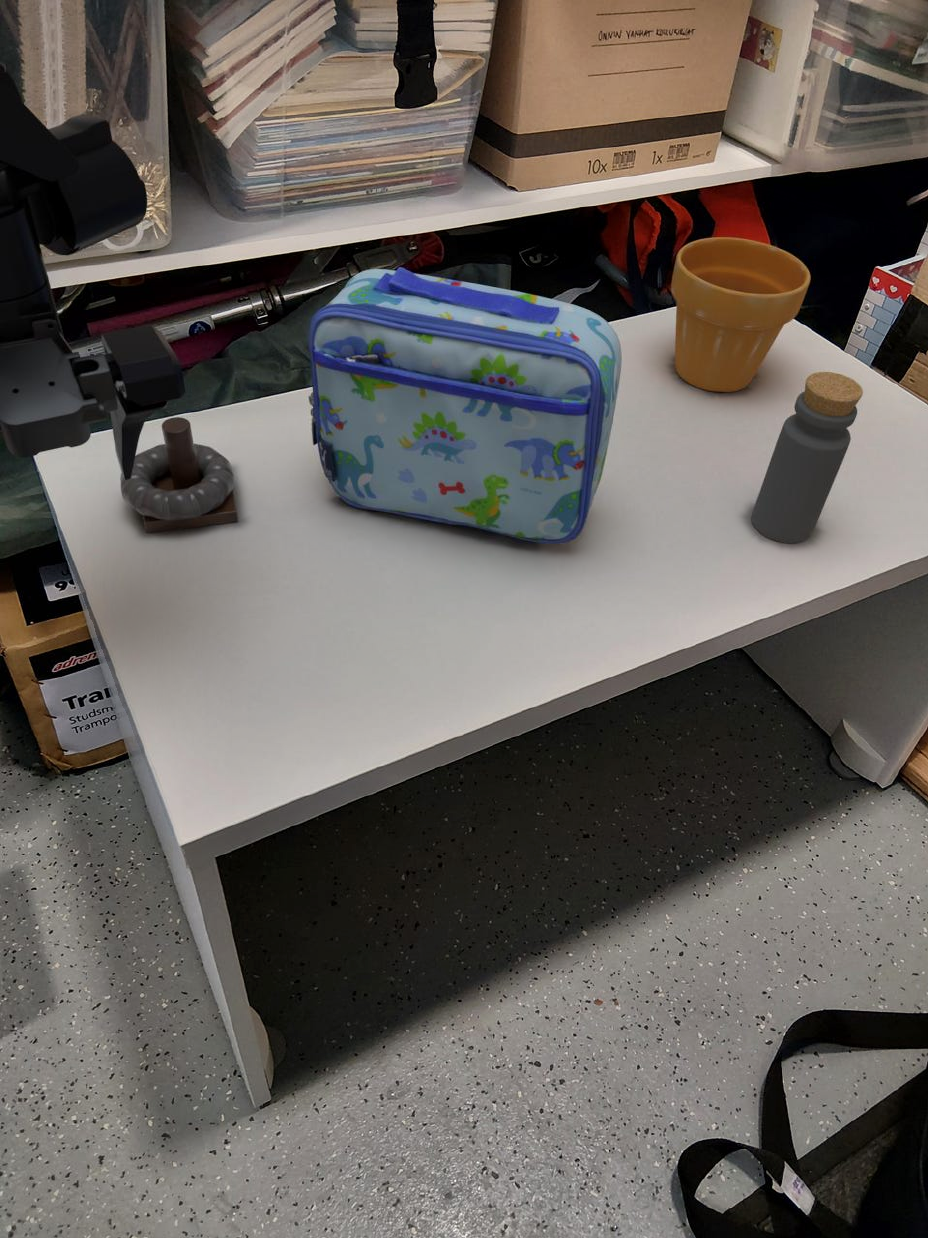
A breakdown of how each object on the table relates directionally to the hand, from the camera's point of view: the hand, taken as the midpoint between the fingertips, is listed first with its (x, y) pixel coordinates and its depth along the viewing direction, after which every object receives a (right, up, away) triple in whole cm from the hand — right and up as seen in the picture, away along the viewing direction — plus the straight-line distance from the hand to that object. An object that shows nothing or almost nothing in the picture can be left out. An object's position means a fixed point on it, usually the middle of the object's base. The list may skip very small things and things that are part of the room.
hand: (60, 492), depth 67 cm
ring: (+3, +4, +18) cm, 18 cm away
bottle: (+59, 0, +23) cm, 63 cm away
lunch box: (+28, +2, +22) cm, 36 cm away
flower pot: (+58, +20, +42) cm, 74 cm away
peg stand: (+3, +2, +20) cm, 20 cm away
